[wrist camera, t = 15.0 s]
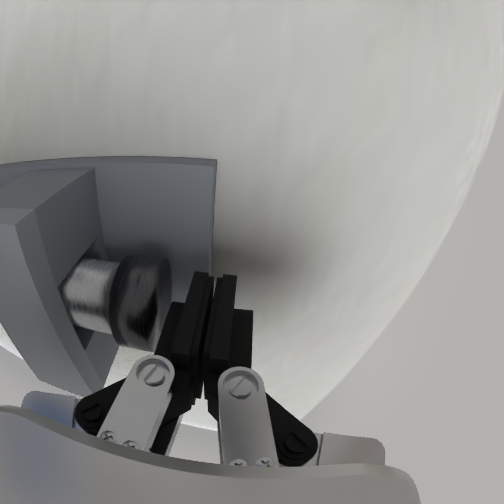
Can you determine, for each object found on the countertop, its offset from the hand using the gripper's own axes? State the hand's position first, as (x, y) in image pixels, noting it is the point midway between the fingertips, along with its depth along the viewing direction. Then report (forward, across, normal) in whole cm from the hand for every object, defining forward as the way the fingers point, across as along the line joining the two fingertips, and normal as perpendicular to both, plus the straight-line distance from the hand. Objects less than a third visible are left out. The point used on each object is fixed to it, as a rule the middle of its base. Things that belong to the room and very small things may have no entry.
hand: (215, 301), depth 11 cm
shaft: (+1, +8, 0) cm, 8 cm away
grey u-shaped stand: (+2, +12, 0) cm, 12 cm away
